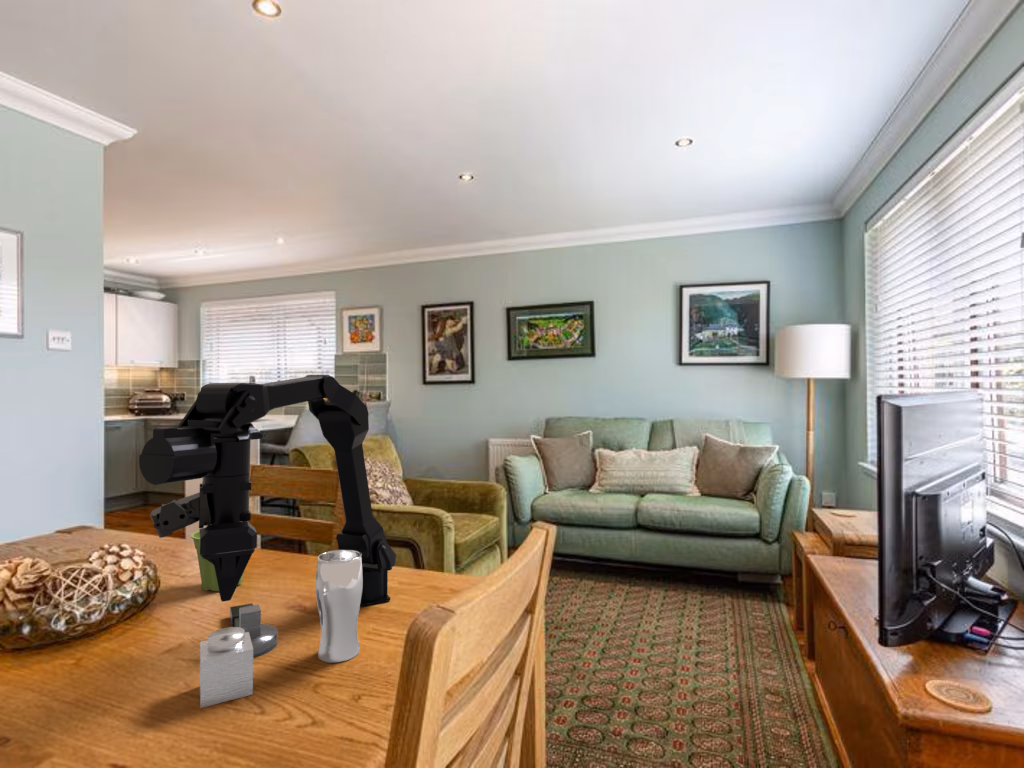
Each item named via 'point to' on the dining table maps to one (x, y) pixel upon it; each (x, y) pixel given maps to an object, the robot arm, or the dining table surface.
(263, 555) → the dining table surface
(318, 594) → the beer glass
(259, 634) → the ratchet
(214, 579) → the plant pot
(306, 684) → the dining table surface
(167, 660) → the dining table surface
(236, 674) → the cube with round boss
